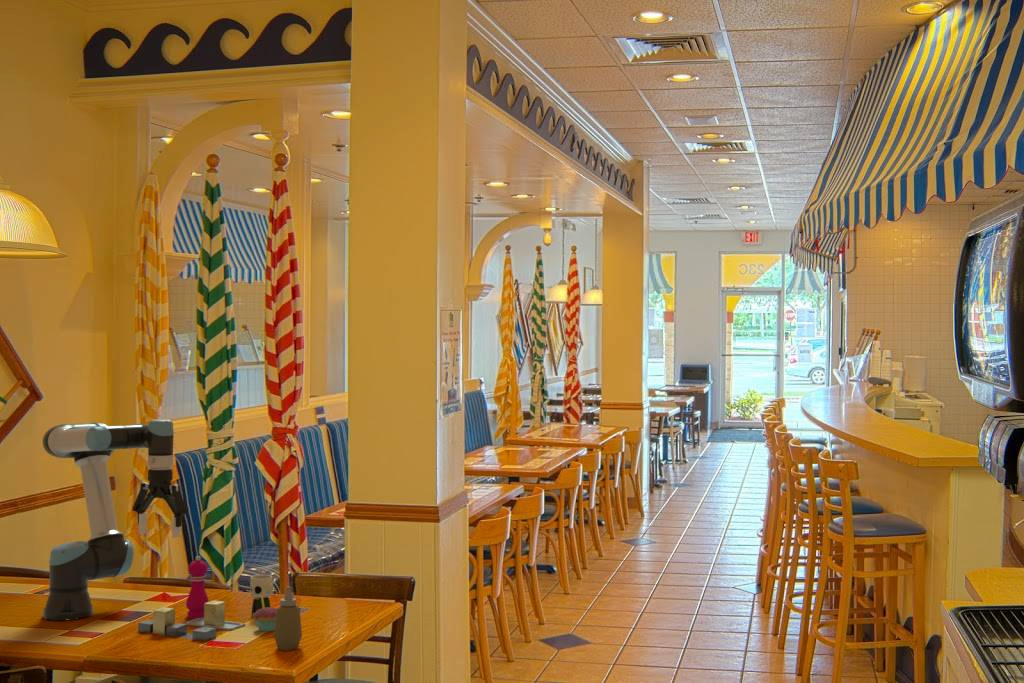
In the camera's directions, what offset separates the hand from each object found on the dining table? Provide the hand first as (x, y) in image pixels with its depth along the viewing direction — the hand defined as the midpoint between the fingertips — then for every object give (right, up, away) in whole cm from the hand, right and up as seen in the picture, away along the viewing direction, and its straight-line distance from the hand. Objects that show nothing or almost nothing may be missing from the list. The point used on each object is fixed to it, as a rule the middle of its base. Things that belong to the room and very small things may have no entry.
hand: (159, 535), depth 336 cm
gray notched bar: (+9, -29, -11) cm, 32 cm away
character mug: (+29, -29, +14) cm, 43 cm away
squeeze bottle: (+46, -29, -24) cm, 59 cm away
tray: (+18, -29, 0) cm, 34 cm away
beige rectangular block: (+17, -28, 0) cm, 33 cm away
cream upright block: (+5, -28, -9) cm, 30 cm away
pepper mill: (+9, -29, +12) cm, 33 cm away
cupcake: (+35, -29, -4) cm, 46 cm away
